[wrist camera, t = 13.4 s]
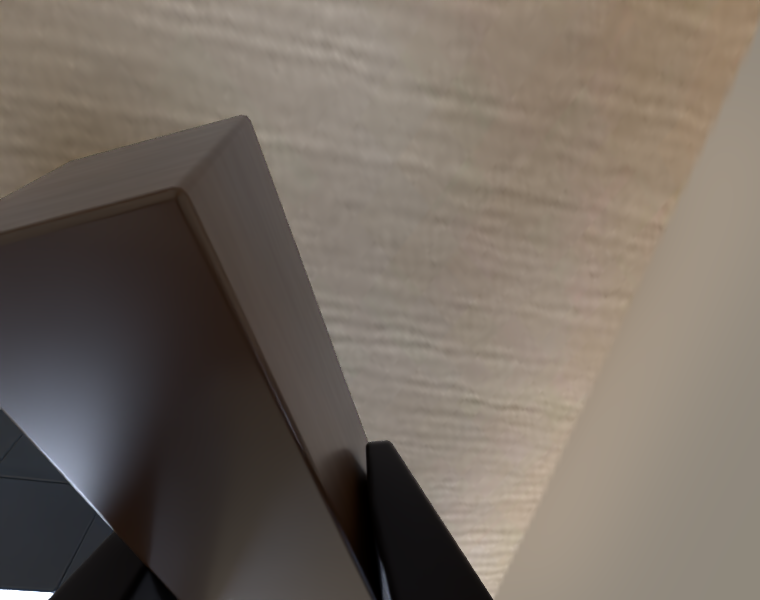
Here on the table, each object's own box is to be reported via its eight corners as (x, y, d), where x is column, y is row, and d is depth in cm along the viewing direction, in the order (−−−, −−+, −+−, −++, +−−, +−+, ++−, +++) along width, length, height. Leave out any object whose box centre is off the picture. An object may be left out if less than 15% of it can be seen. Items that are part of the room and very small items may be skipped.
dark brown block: (249, 112, 6) (180, 187, 3) (400, 527, 10) (420, 692, 8) (67, 160, 6) (-137, 269, 3) (296, 549, 11) (284, 719, 8)
